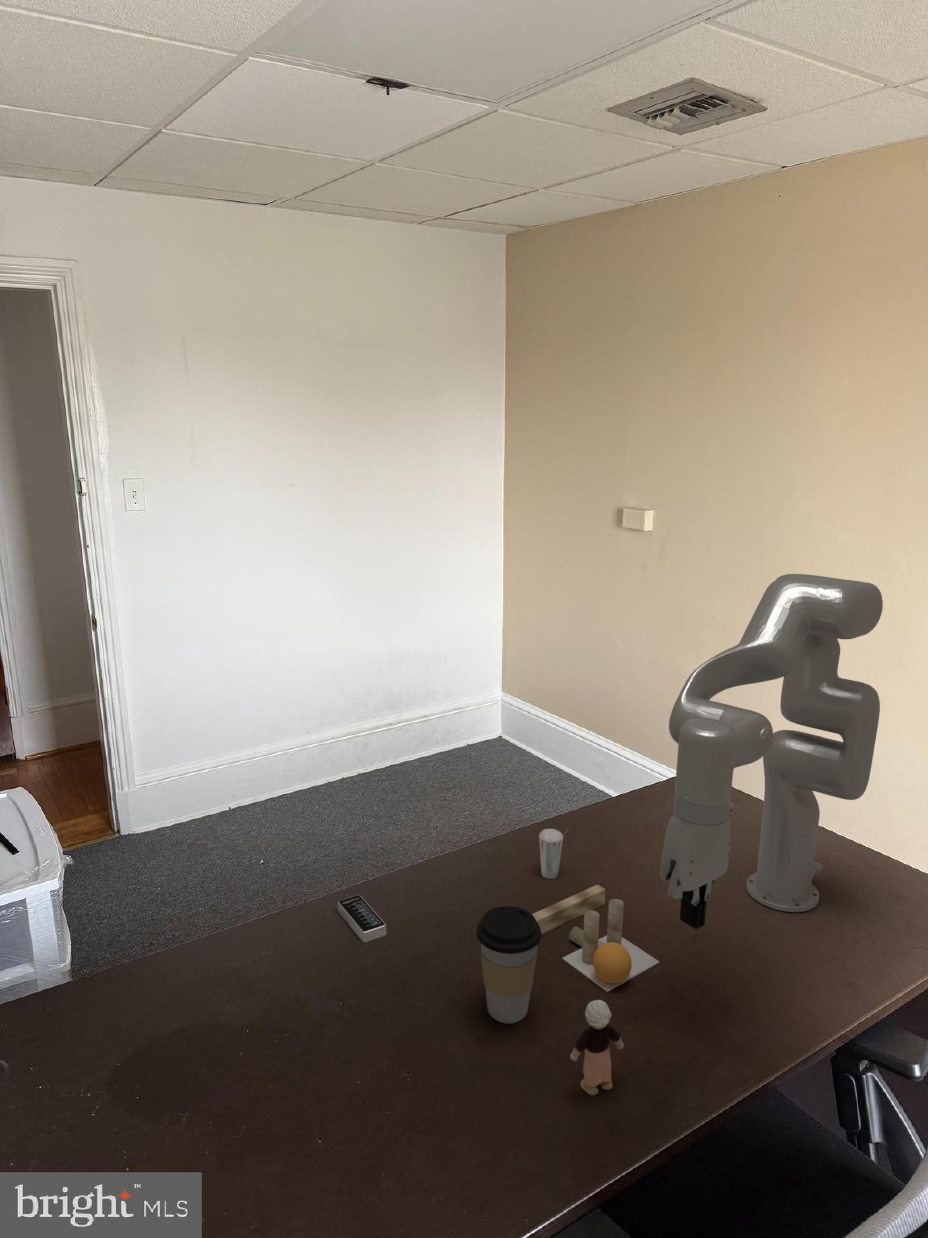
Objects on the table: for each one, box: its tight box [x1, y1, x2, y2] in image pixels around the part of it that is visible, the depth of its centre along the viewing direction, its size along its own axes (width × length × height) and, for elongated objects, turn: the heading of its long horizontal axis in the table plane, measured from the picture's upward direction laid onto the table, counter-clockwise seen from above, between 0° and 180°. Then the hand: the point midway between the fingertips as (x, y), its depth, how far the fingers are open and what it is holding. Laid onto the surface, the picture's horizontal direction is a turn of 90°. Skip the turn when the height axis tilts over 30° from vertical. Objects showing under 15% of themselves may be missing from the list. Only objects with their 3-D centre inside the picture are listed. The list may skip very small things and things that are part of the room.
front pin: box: [568, 926, 604, 948], centre depth 141 cm, size 2×2×8 cm
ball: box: [593, 942, 632, 983], centre depth 134 cm, size 6×6×6 cm
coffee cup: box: [475, 905, 542, 1025], centre depth 126 cm, size 9×9×15 cm
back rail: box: [531, 884, 606, 935], centre depth 149 cm, size 22×2×3 cm, turn 127°
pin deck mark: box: [562, 935, 660, 993], centre depth 139 cm, size 12×10×1 cm
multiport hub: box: [337, 894, 387, 943], centre depth 149 cm, size 4×11×2 cm, turn 32°
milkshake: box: [538, 828, 568, 880], centre depth 163 cm, size 4×5×10 cm
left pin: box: [582, 910, 600, 965], centre depth 138 cm, size 2×2×8 cm
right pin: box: [606, 898, 624, 945], centre depth 141 cm, size 2×2×8 cm
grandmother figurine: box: [569, 999, 625, 1096], centre depth 112 cm, size 8×4×13 cm, turn 123°
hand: (691, 923), depth 124 cm, fingers closed
